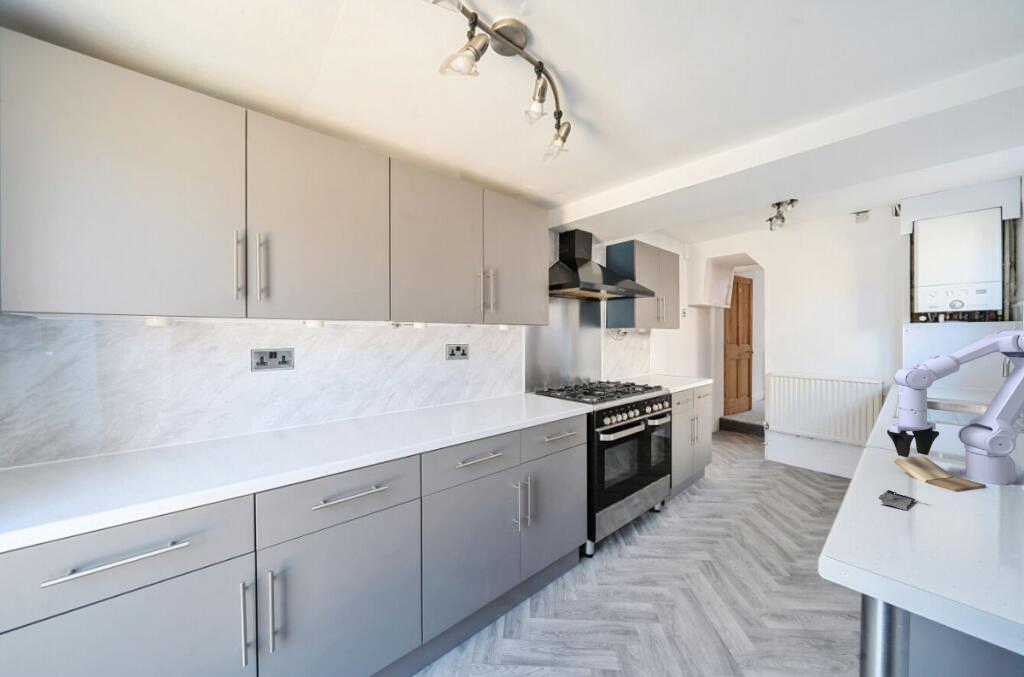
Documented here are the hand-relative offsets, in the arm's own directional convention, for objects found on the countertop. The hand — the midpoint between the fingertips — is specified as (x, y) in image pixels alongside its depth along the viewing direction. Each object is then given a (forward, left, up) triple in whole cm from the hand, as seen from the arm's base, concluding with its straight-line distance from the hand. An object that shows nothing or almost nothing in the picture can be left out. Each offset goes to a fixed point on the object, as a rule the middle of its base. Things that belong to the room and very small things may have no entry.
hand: (913, 455), depth 109 cm
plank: (-1, +1, -4) cm, 5 cm away
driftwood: (+18, +9, -8) cm, 21 cm away
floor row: (-1, +4, -7) cm, 8 cm away
